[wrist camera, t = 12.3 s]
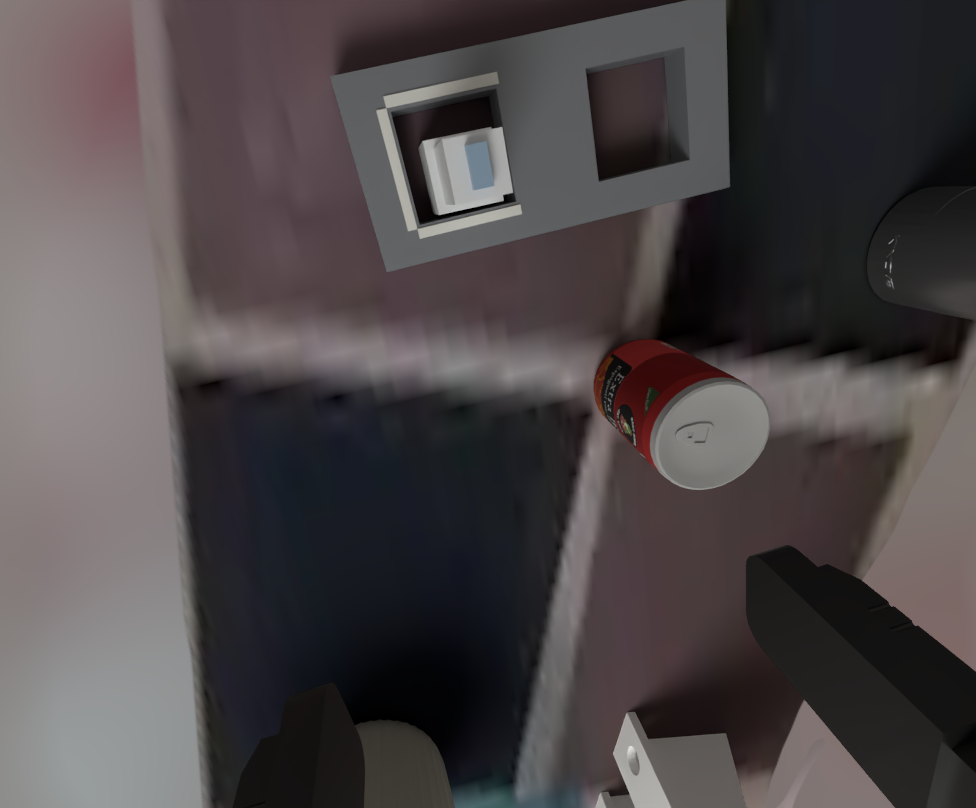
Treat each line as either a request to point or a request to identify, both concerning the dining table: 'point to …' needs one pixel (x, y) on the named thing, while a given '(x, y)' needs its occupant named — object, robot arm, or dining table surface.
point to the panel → (544, 126)
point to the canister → (402, 767)
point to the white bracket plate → (674, 771)
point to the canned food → (682, 413)
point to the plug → (466, 170)
